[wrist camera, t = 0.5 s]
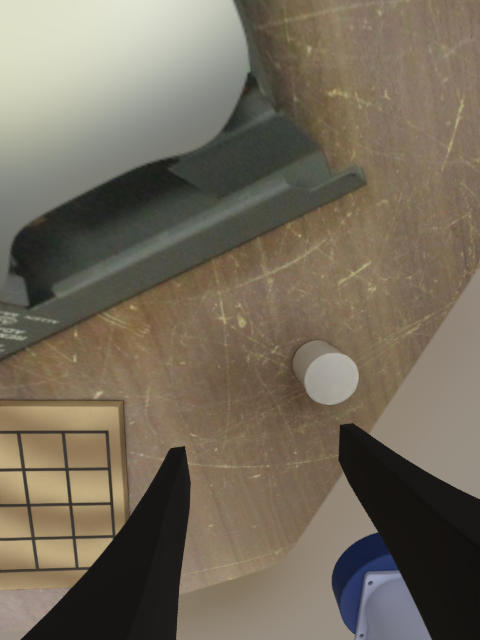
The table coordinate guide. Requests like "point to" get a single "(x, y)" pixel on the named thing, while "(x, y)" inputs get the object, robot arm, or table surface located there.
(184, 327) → the table surface
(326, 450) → the table surface
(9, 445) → the board
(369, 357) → the table surface
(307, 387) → the grey short cylinder
